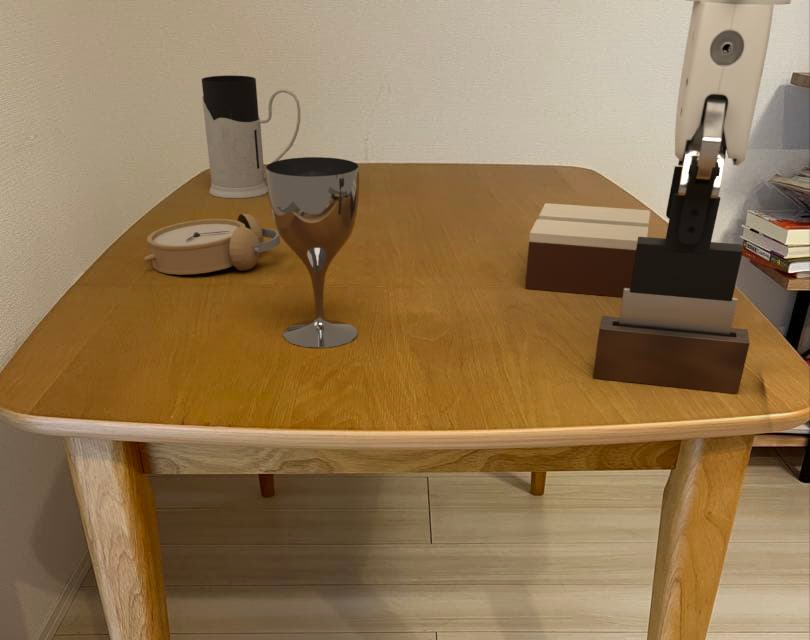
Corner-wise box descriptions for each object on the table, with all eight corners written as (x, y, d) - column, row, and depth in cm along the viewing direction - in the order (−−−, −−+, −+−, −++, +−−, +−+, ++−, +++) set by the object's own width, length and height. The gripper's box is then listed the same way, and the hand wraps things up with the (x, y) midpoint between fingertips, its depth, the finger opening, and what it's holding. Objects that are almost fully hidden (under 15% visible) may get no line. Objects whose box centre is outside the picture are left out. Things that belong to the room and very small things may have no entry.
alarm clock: (153, 224, 105) (276, 199, 104) (166, 264, 108) (286, 241, 107) (135, 251, 96) (270, 225, 95) (150, 295, 98) (281, 269, 98)
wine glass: (275, 349, 81) (261, 176, 72) (282, 319, 87) (270, 156, 79) (361, 349, 81) (358, 176, 72) (362, 318, 87) (359, 157, 79)
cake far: (642, 263, 103) (650, 210, 100) (640, 277, 99) (649, 222, 95) (540, 254, 106) (545, 202, 102) (534, 268, 101) (538, 214, 98)
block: (735, 379, 76) (747, 328, 73) (737, 394, 73) (749, 342, 71) (595, 364, 78) (602, 315, 76) (592, 378, 76) (599, 328, 73)
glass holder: (216, 184, 135) (204, 74, 127) (308, 185, 135) (302, 75, 126) (203, 197, 128) (190, 82, 120) (300, 199, 128) (293, 84, 119)
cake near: (639, 282, 97) (648, 227, 94) (637, 298, 93) (647, 241, 90) (532, 273, 100) (536, 218, 96) (524, 288, 95) (529, 232, 92)
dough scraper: (717, 379, 76) (748, 244, 69) (718, 389, 74) (749, 251, 68) (611, 368, 78) (631, 235, 71) (610, 377, 76) (630, 242, 70)
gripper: (811, -18, 52) (741, 272, 61) (783, -25, 66) (729, 212, 75) (680, -23, 53) (631, 261, 63) (680, -29, 67) (640, 205, 77)
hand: (685, 234), depth 69 cm, fingers open, 9 cm apart
